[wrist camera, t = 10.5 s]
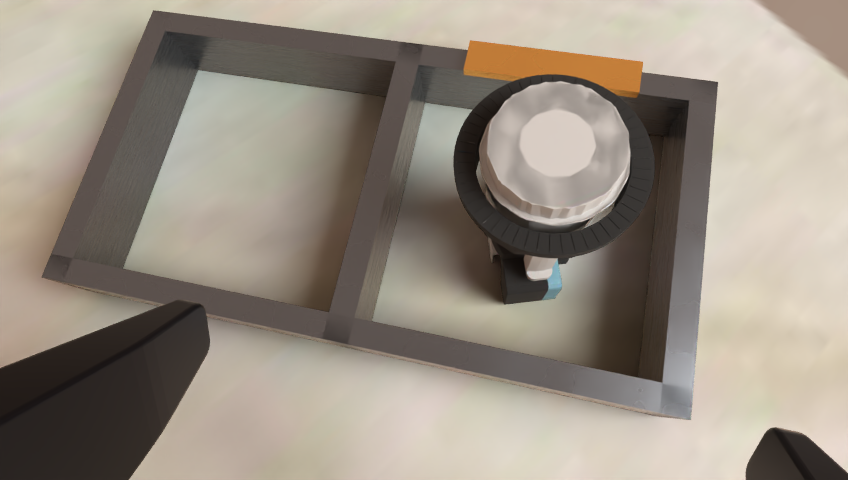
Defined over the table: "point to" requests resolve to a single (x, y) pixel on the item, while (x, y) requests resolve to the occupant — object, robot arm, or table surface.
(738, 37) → the table surface
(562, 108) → the push button
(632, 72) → the grey divided tray
